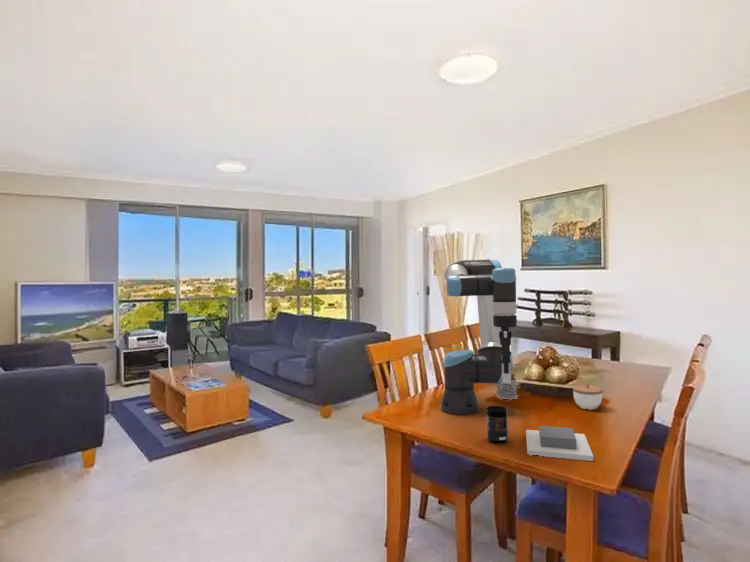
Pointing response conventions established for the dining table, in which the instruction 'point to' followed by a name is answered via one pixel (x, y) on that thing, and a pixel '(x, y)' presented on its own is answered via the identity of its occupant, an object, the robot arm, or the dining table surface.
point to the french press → (506, 392)
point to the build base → (559, 451)
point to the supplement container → (497, 424)
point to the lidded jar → (587, 396)
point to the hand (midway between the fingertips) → (506, 378)
